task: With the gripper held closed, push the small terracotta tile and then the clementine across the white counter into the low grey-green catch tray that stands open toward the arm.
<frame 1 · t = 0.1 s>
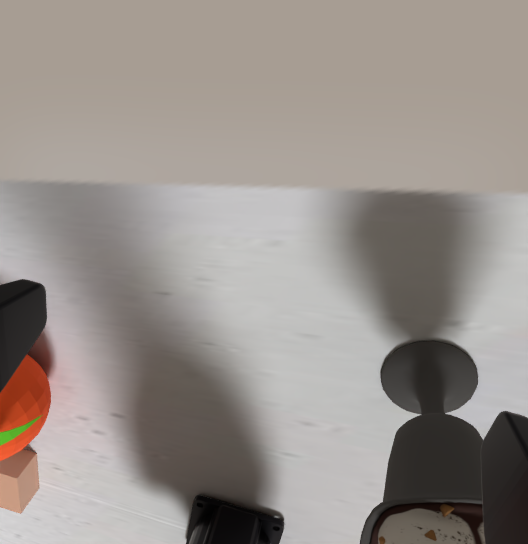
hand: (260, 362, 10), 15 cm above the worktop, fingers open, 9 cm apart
tile: (15, 461, 38), on the worktop
clementine: (32, 364, 32), on the worktop
sundae: (426, 375, 27), on the worktop
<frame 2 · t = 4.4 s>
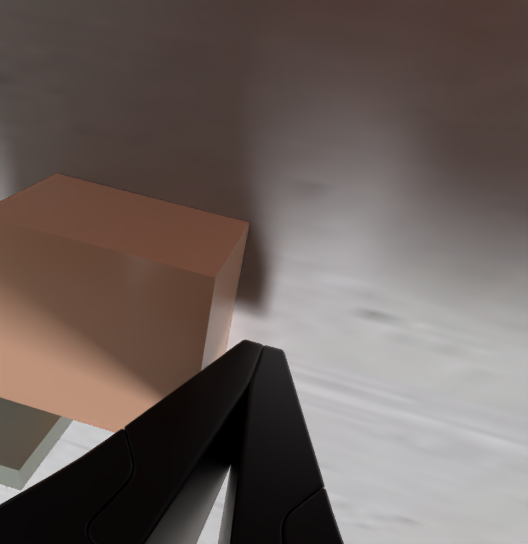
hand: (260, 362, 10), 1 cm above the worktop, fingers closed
tile: (149, 278, 11), on the worktop, touching gripper
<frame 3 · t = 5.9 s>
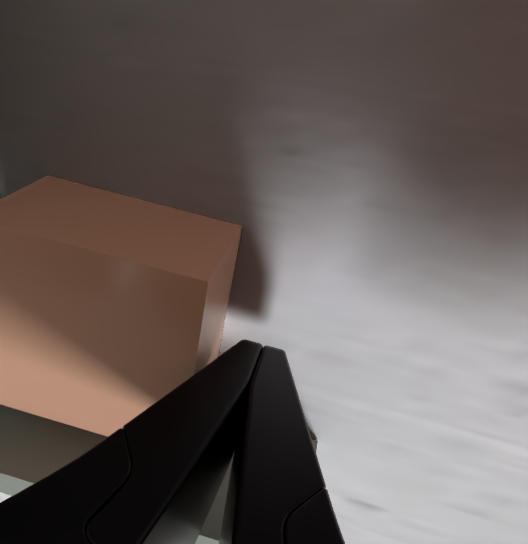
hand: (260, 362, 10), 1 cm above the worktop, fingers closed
tile: (141, 280, 11), on the worktop
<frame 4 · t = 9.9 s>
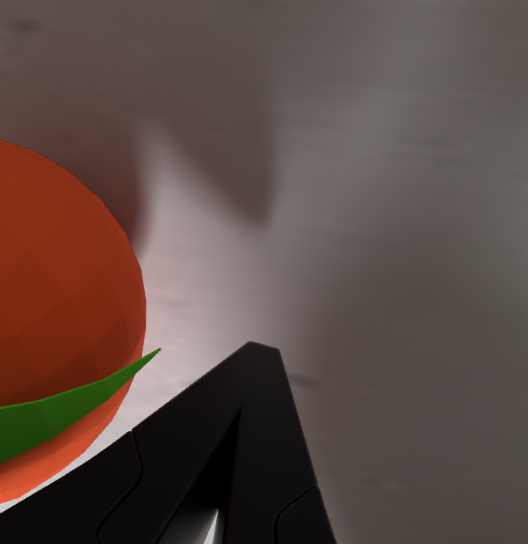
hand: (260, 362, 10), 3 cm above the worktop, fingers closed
clementine: (82, 238, 12), on the worktop, touching gripper
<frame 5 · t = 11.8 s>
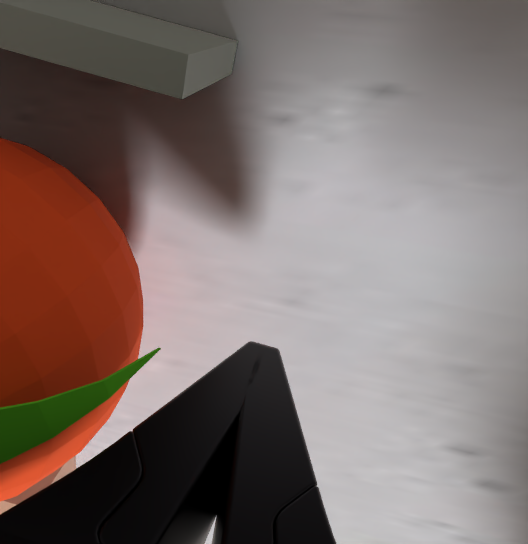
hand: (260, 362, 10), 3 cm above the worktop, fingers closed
tile: (25, 466, 17), on the worktop
clementine: (77, 235, 12), on the worktop, touching gripper
catch tray: (32, 349, 14), on the worktop
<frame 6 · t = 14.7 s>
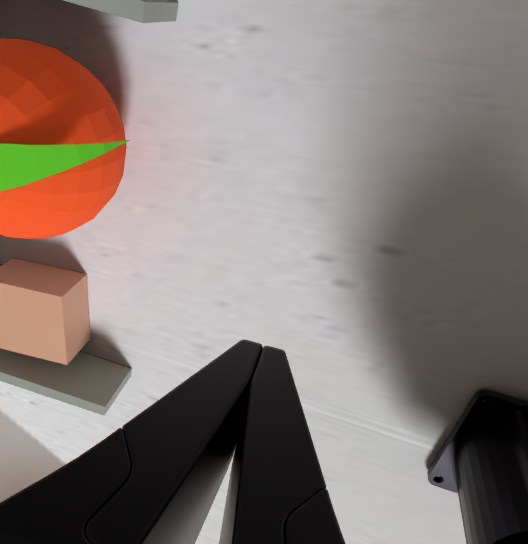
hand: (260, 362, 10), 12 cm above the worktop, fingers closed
tile: (55, 297, 26), on the worktop
clementine: (91, 121, 21), on the worktop
catch tray: (63, 201, 23), on the worktop
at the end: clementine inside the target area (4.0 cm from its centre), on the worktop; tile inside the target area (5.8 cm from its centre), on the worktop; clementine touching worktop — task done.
